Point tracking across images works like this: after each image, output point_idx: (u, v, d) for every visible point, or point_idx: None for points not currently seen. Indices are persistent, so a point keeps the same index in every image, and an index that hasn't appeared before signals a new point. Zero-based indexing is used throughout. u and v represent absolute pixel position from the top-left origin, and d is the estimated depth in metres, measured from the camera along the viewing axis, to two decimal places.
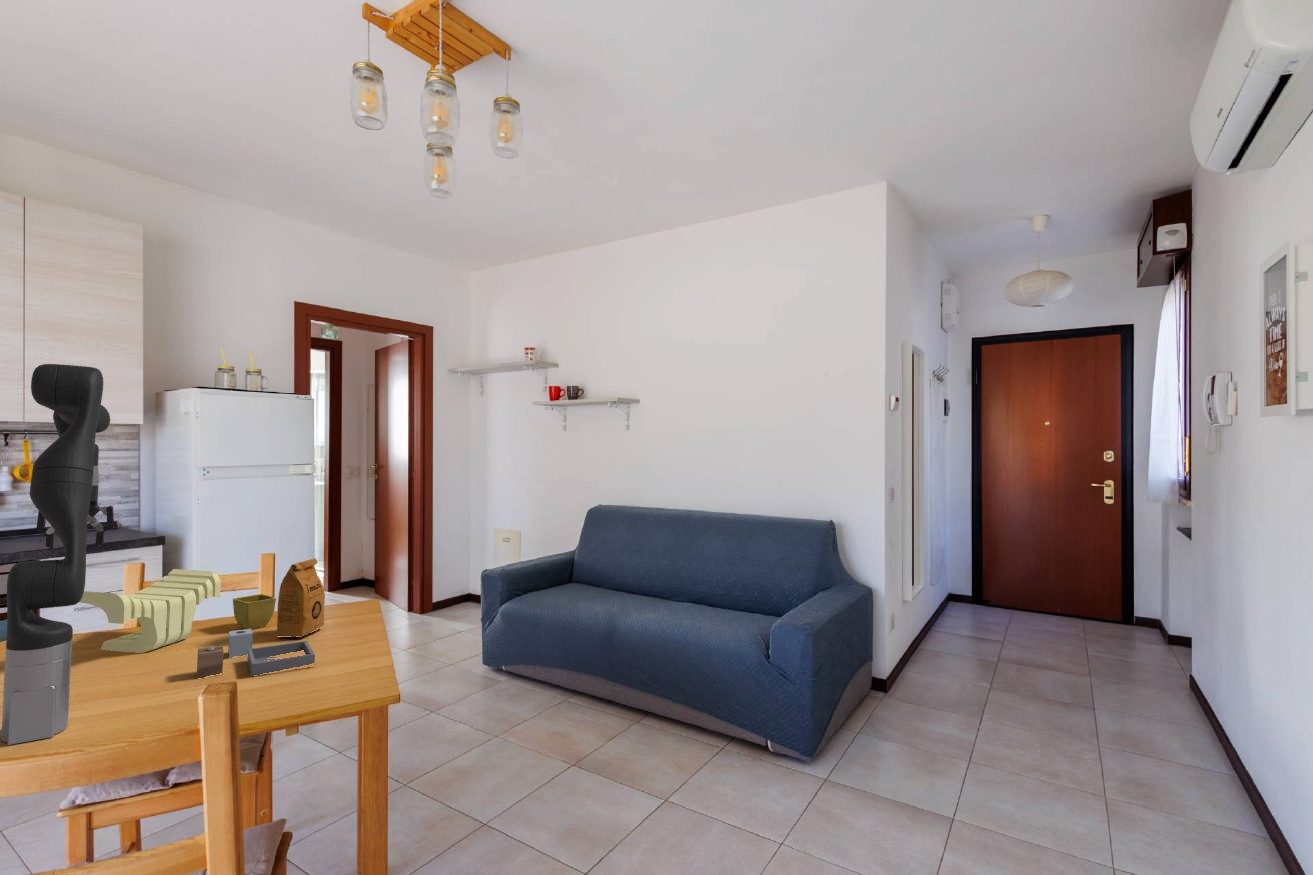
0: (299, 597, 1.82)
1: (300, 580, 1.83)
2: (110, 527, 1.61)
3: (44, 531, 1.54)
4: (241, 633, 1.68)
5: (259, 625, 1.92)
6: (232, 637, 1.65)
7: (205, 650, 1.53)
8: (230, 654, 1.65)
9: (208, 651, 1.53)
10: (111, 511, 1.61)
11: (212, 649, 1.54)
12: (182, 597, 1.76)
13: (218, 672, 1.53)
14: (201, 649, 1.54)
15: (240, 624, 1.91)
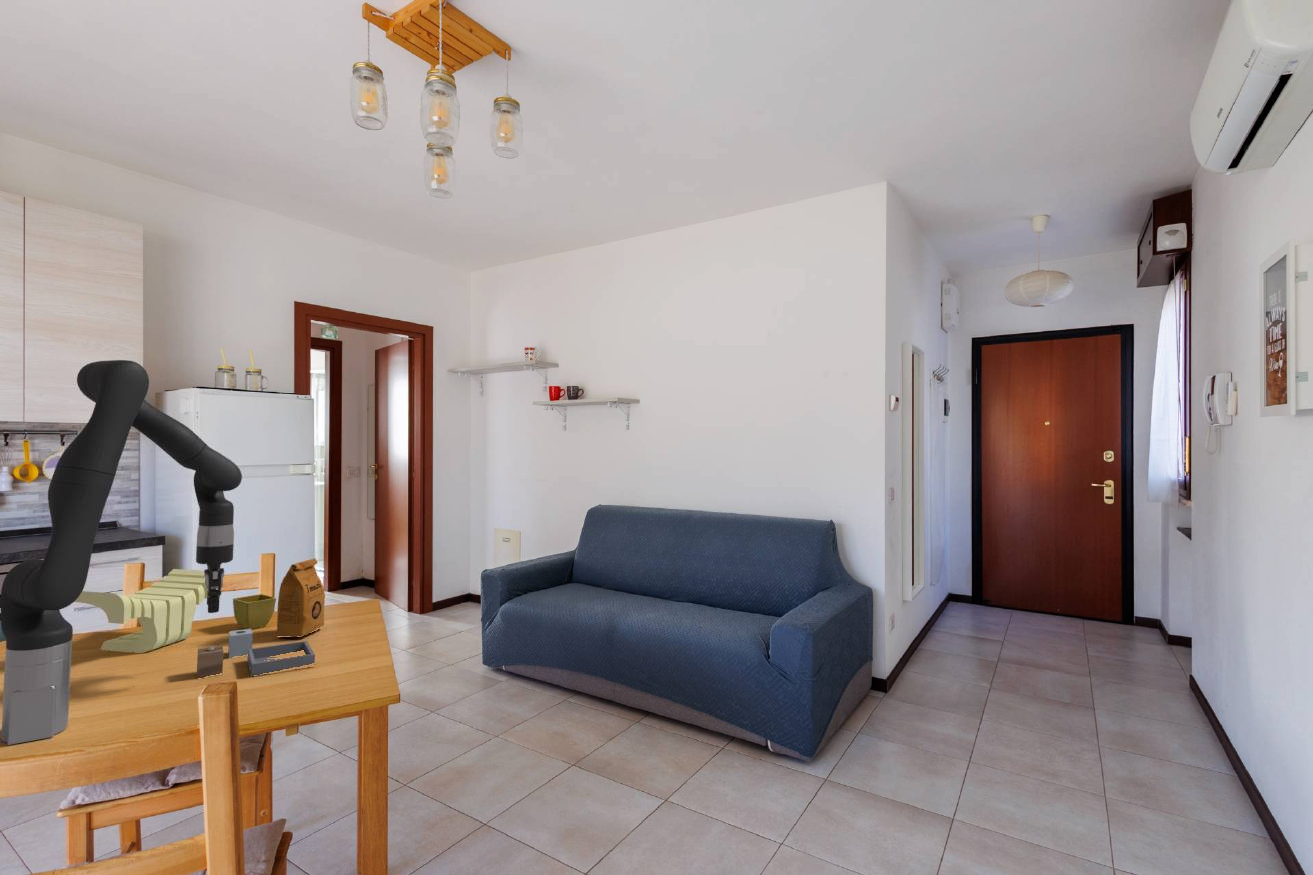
0: (299, 597, 1.82)
1: (300, 580, 1.83)
2: None
3: None
4: (241, 632, 1.68)
5: (259, 625, 1.92)
6: (232, 637, 1.65)
7: (205, 650, 1.53)
8: (230, 654, 1.65)
9: (208, 651, 1.53)
10: None
11: (212, 649, 1.54)
12: (182, 597, 1.76)
13: (218, 672, 1.53)
14: (201, 649, 1.54)
15: (240, 624, 1.91)
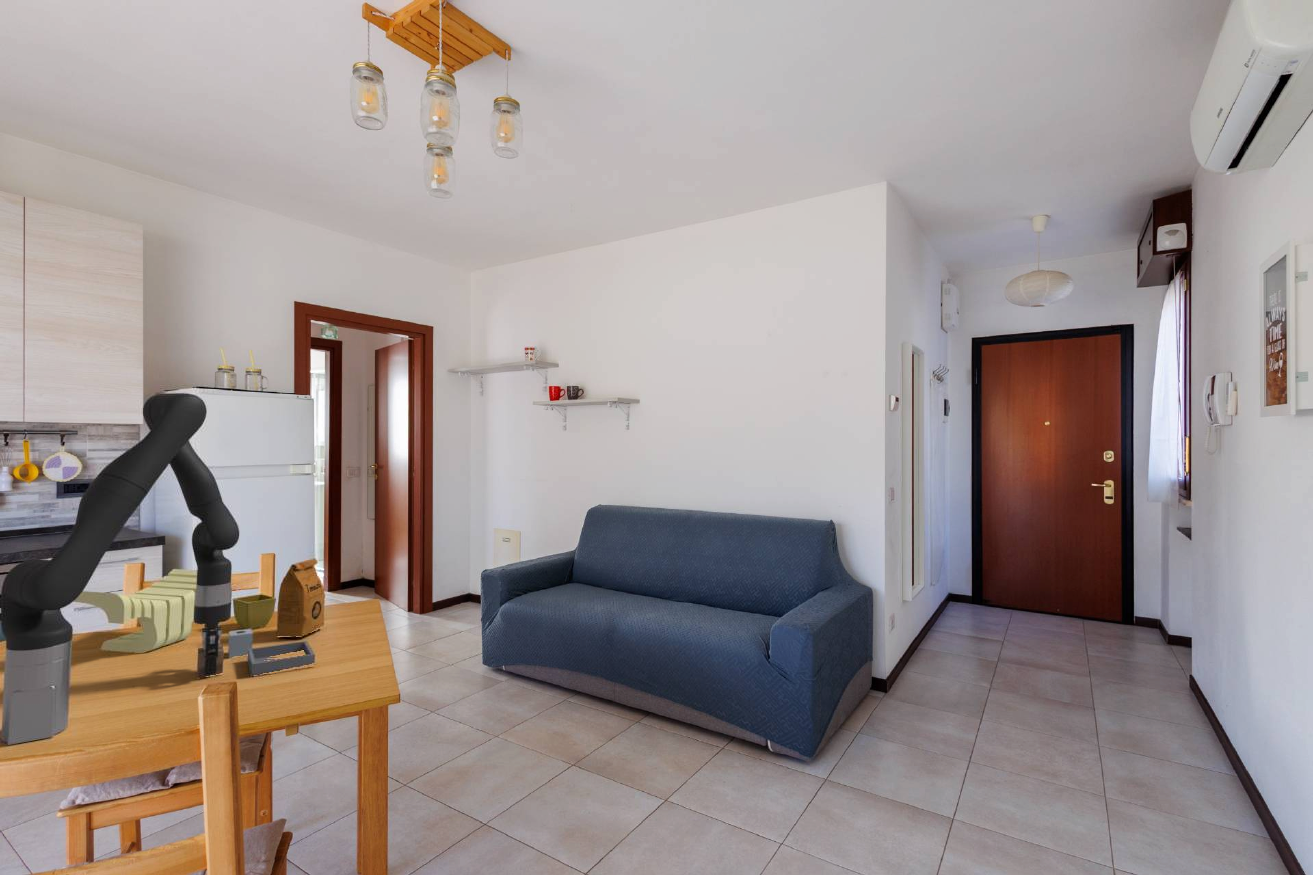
0: (299, 597, 1.82)
1: (300, 580, 1.83)
2: None
3: None
4: (241, 632, 1.68)
5: (259, 625, 1.92)
6: (232, 637, 1.65)
7: None
8: (230, 654, 1.65)
9: (208, 651, 1.53)
10: None
11: None
12: (182, 597, 1.76)
13: (218, 672, 1.53)
14: (201, 649, 1.54)
15: (240, 624, 1.91)
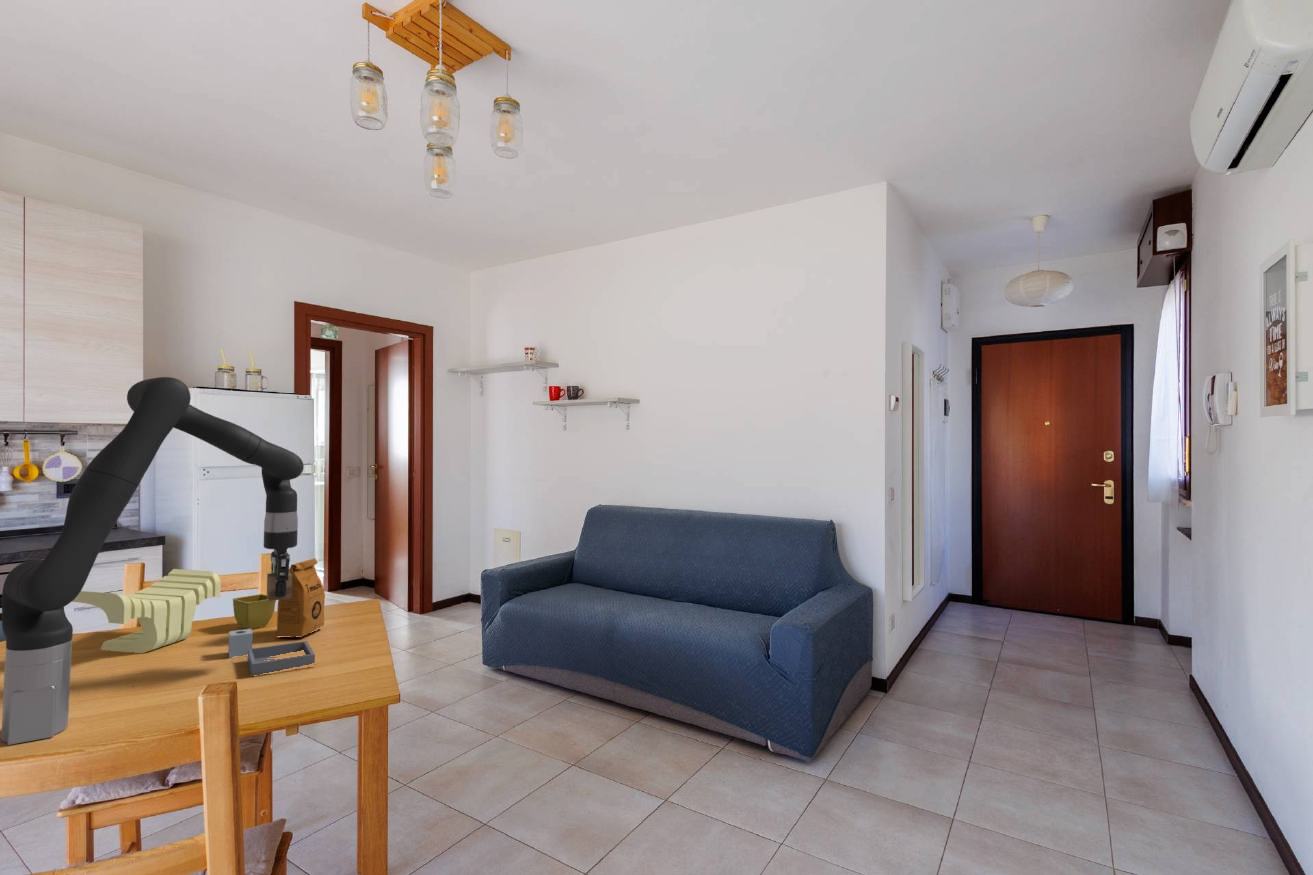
0: (299, 597, 1.82)
1: (300, 580, 1.83)
2: None
3: None
4: (241, 633, 1.68)
5: (259, 625, 1.92)
6: (232, 637, 1.65)
7: None
8: (230, 654, 1.65)
9: None
10: None
11: (281, 573, 1.62)
12: (182, 597, 1.76)
13: (288, 595, 1.61)
14: (270, 574, 1.62)
15: (240, 624, 1.91)
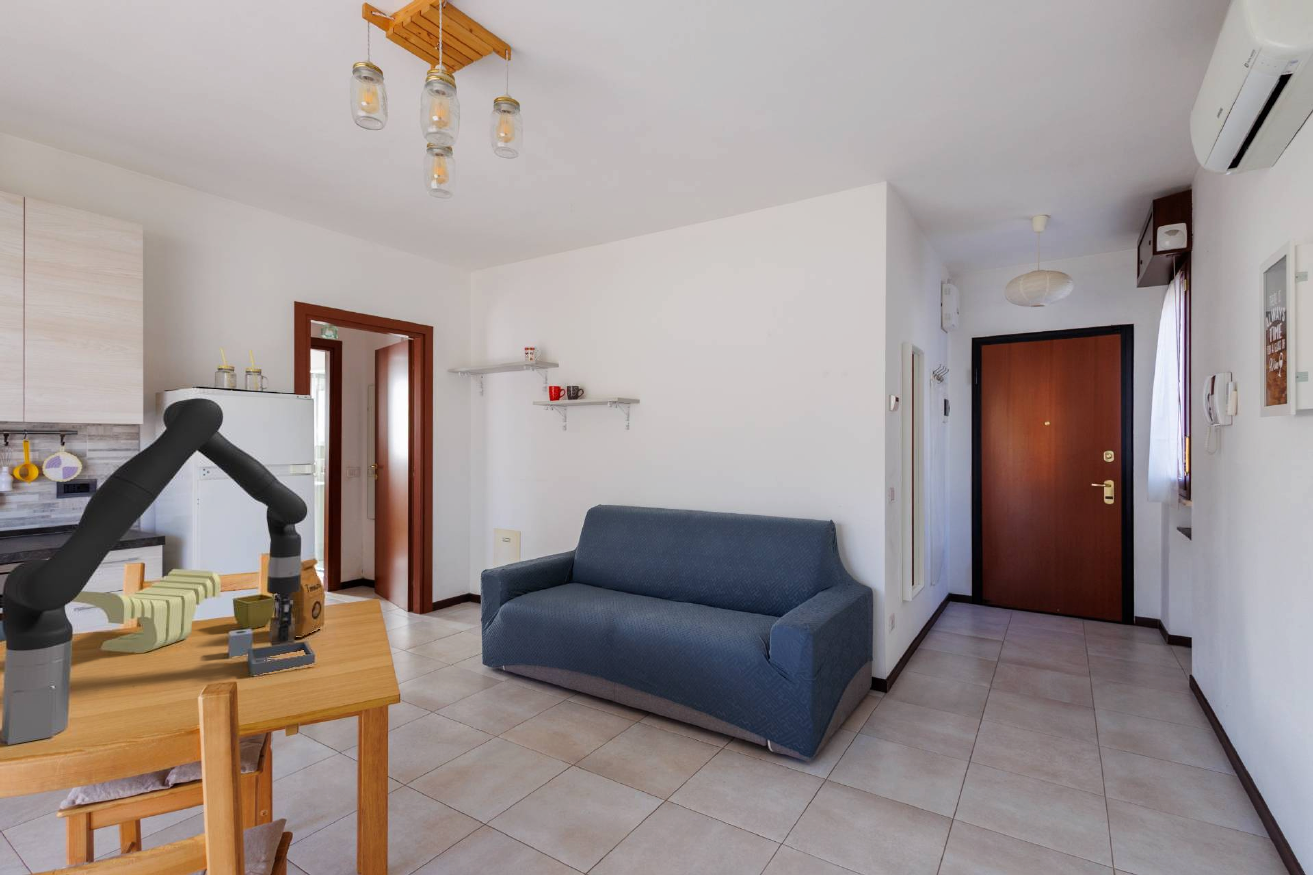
0: (299, 597, 1.82)
1: None
2: None
3: None
4: (241, 632, 1.68)
5: (259, 625, 1.92)
6: (232, 637, 1.65)
7: None
8: (230, 654, 1.65)
9: None
10: None
11: (284, 618, 1.62)
12: (182, 597, 1.76)
13: (290, 639, 1.61)
14: (273, 618, 1.62)
15: (240, 624, 1.91)
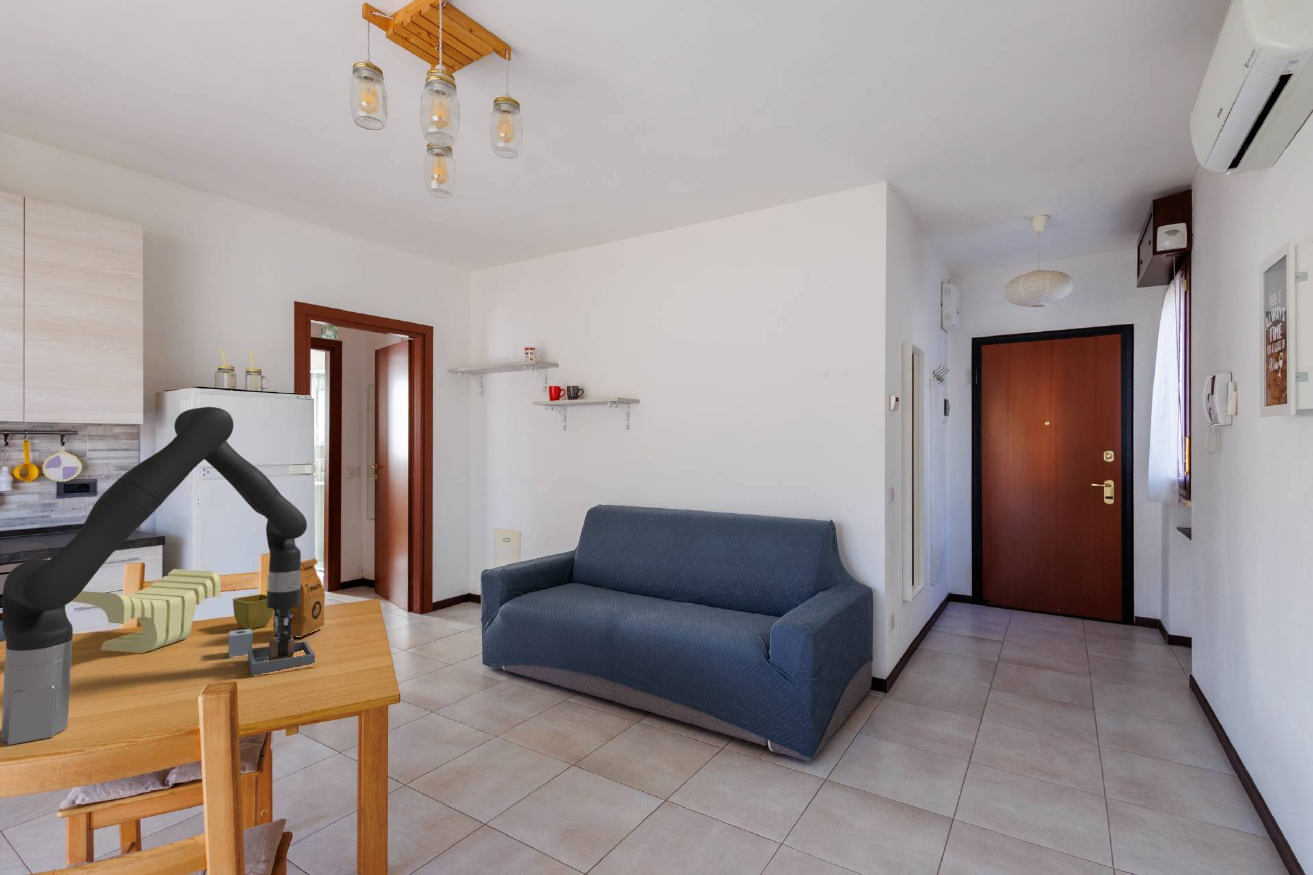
0: None
1: None
2: None
3: None
4: (241, 633, 1.68)
5: (259, 625, 1.92)
6: (232, 637, 1.65)
7: (277, 639, 1.61)
8: (230, 654, 1.65)
9: None
10: None
11: None
12: (182, 597, 1.76)
13: None
14: (272, 638, 1.62)
15: (240, 624, 1.91)
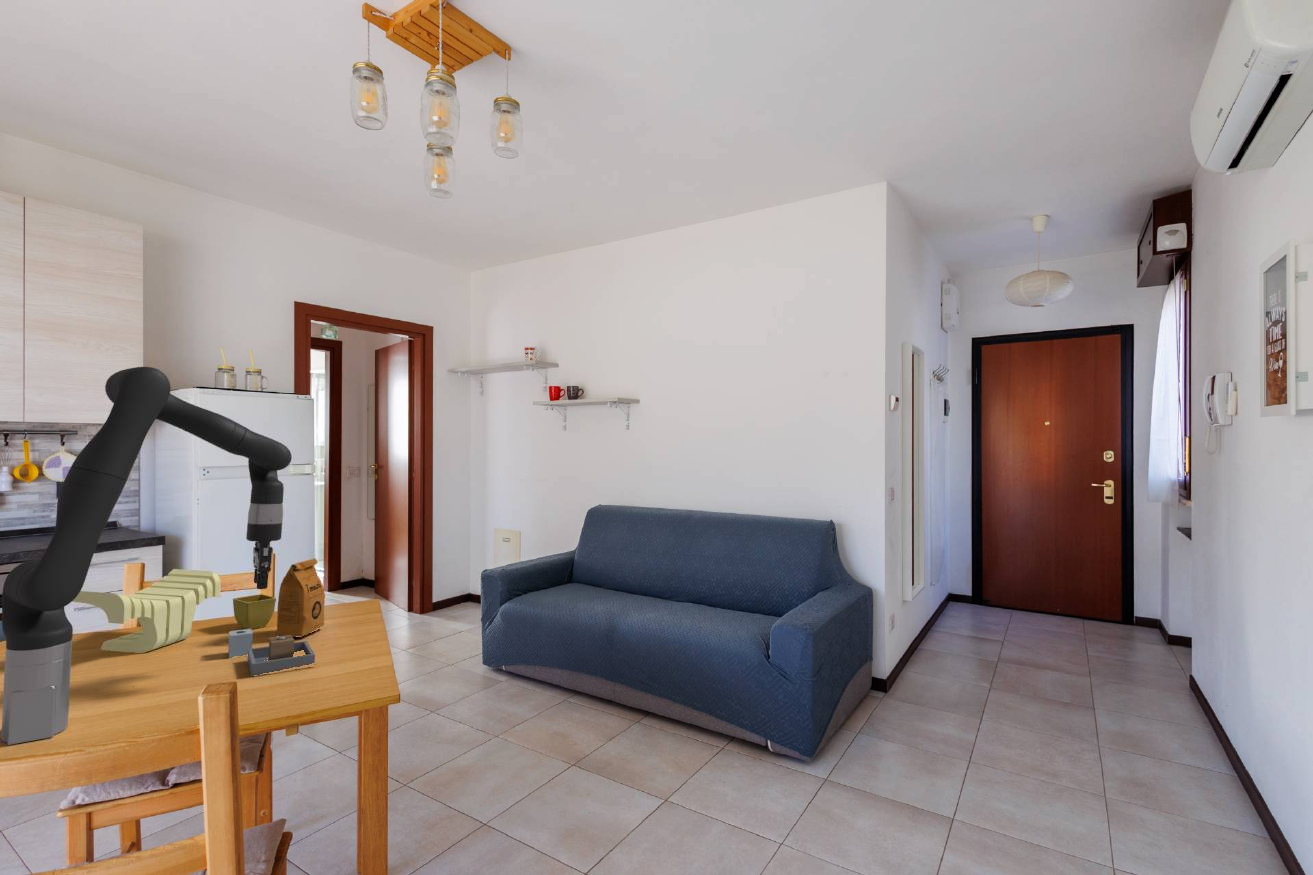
0: (299, 597, 1.82)
1: (300, 580, 1.83)
2: None
3: None
4: (241, 633, 1.68)
5: (259, 625, 1.92)
6: (232, 637, 1.65)
7: (277, 639, 1.61)
8: (230, 654, 1.65)
9: (280, 640, 1.61)
10: None
11: (283, 638, 1.62)
12: (182, 597, 1.76)
13: None
14: (272, 638, 1.62)
15: (240, 624, 1.91)
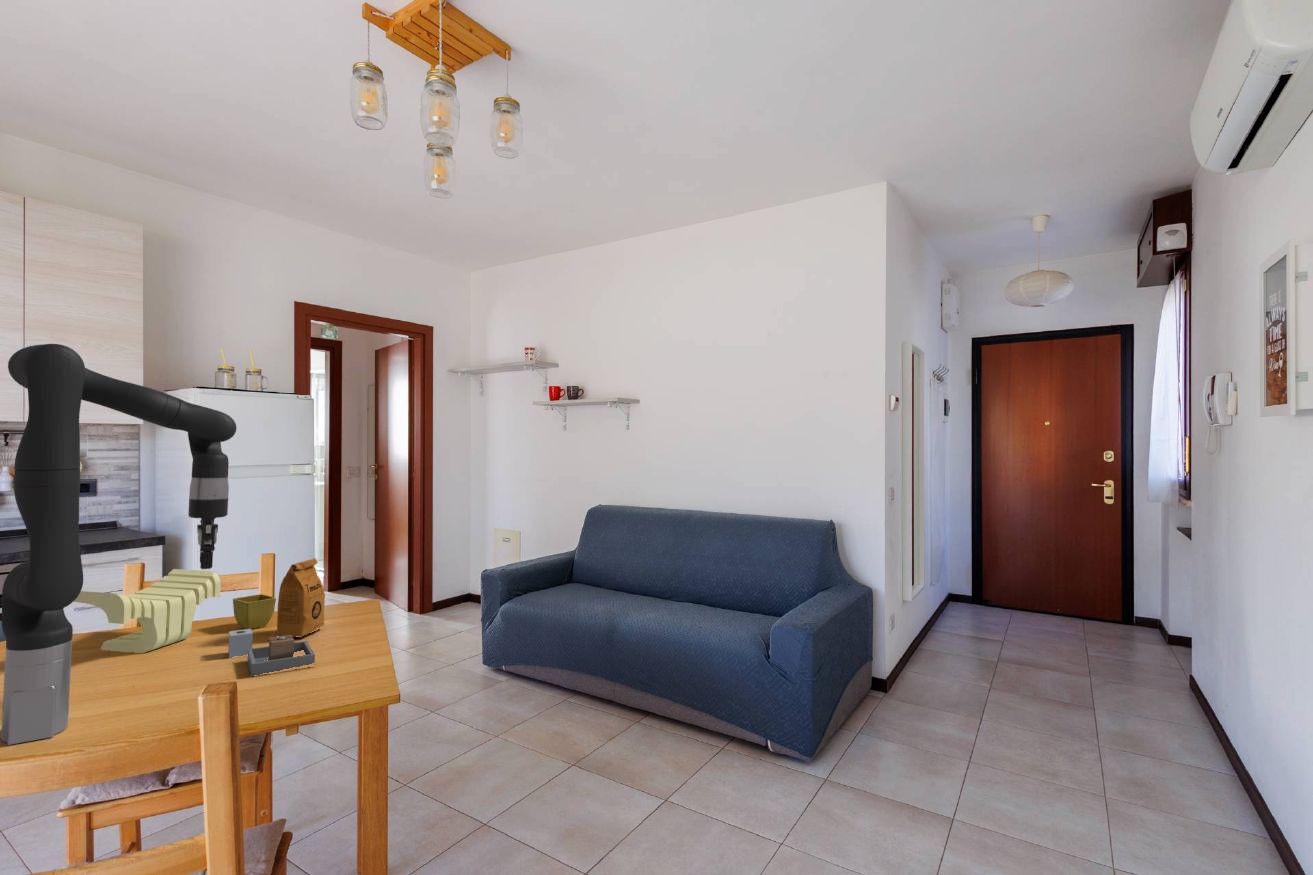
0: (299, 597, 1.82)
1: (300, 580, 1.83)
2: None
3: (211, 549, 1.43)
4: (241, 633, 1.68)
5: (259, 625, 1.92)
6: (232, 637, 1.65)
7: (277, 639, 1.61)
8: (230, 654, 1.65)
9: (280, 640, 1.61)
10: None
11: (283, 638, 1.62)
12: (182, 597, 1.76)
13: None
14: (272, 638, 1.62)
15: (240, 624, 1.91)
